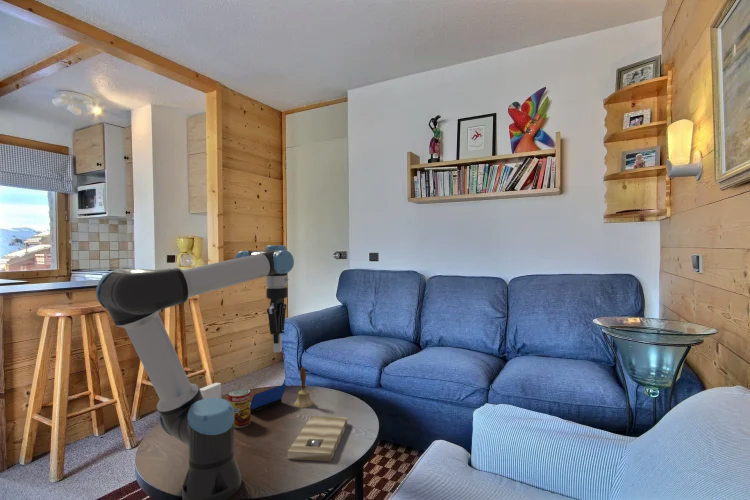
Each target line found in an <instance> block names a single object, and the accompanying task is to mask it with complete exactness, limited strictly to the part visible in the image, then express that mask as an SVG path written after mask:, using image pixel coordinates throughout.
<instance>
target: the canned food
mask: <svg viewBox="0 0 750 500" xmlns="http://www.w3.org/2000/svg"><path fill="white" fill-rule="evenodd" d="M250 401H251V390H250V389H248V388H236V389H233V390H231V391H229V392H228V402H230V403H231V405H232V406H233V412H234V429H239V428H244V427H247V426H249V425H250V424H251V420H252V417H251V414H252V413H251V412H250Z"/></svg>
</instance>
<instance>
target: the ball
mask: <svg viewBox="0 0 750 500" xmlns="http://www.w3.org/2000/svg"><path fill="white" fill-rule="evenodd" d="M309 447H320V442H319V441H318V440H313V441H312V442H311V444H310V446H309Z"/></svg>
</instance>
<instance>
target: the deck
mask: <svg viewBox="0 0 750 500" xmlns="http://www.w3.org/2000/svg"><path fill="white" fill-rule="evenodd" d="M347 426H348V417H346V416H318V415H317V416H316V415H311V416H310V417H309V418H308V421H307V422H306V423H305V425H304V426H303V428H302V430H300V432H299V433H298V435H297V437H296V438H295V440H294V441H293V443H292V444H291V445H290V447H289V448H288V450H287V460H297V461H315V462H317V461H319V462H332V460H333V457H334V455H335V453H336V451H337V448H338V446H339V444H340V442H341V440H342V437H343V435H344V432H345V430H346V428H347ZM313 440H318V441H319V442H320V447H310V444H311V442H312V441H313Z"/></svg>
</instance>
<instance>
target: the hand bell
mask: <svg viewBox="0 0 750 500" xmlns="http://www.w3.org/2000/svg"><path fill="white" fill-rule="evenodd" d="M299 376H300V377H299V378H300V381H301V386H300V387H301V390H299V391H298V393H297V399H296V401H295V402H294V403H293V406H294V407H295V408H297V409H305V408H306V409H307V408H311V407H312V406H313V405H314V401H313V400H312V399H311V396H310V392H309V390H307V389H306V388H307V387H306V379H307V372H306V368H305V366H303V367H301V368H300V372H299Z"/></svg>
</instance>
